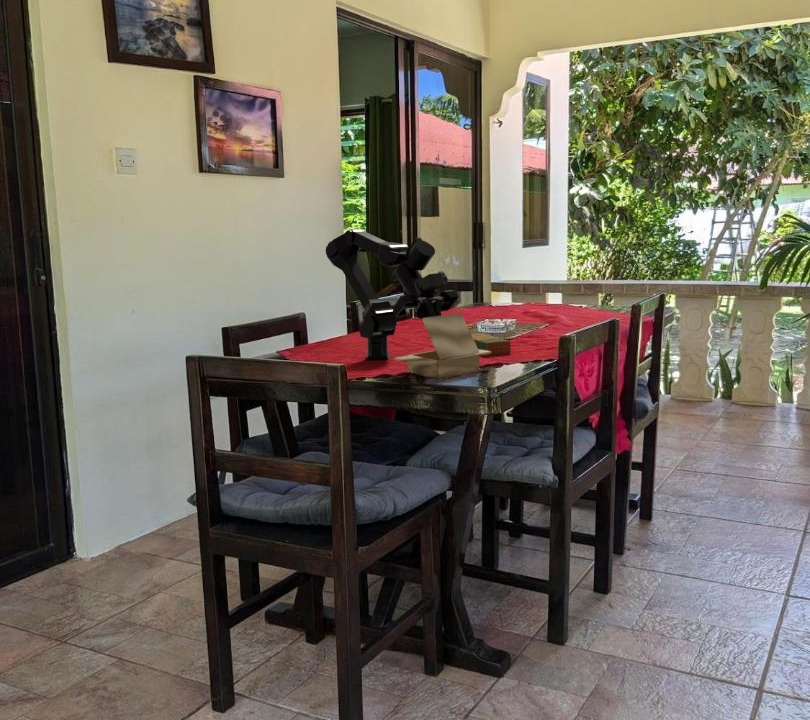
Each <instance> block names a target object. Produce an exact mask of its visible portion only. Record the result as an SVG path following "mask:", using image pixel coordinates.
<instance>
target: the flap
mask: <svg viewBox="0 0 810 720" xmlns="http://www.w3.org/2000/svg"><path fill="white" fill-rule="evenodd" d="M441 315H442V314H441ZM421 322H423V325H424V327H425V329H426V332H427V334H428V336H429V338H430V341H431V343H432V345H433V347H434V349H435V350H436V352H437V354H438V356H439V359H440V360H442V359H448V358H454V357H459V356H465V355H470V354H476V353H479V350H478V348H477V346H476V344H475V342H474V340H473V337H472V335H471V334H472V333H471V331H470V329H469V327H468V324H467V322H466V321H465V319H464V316H463V314H462V313H461V312H459V313H451V314H443V315H442V316H434V317H427V318H422V319H421Z"/></svg>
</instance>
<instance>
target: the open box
mask: <svg viewBox="0 0 810 720" xmlns="http://www.w3.org/2000/svg"><path fill="white" fill-rule="evenodd" d="M478 350H479V353H476V354H470V355H465V356H459V357H454V358H448V359H442V360H440V359H439V356H438V354H437V352H436V350H430V351H429V350H428V351H423V352H418V353H417V352H416V353H411V354H407V355H403V356H397V357H393V361H398V362H402V363H407V366H406V367H407V373H409V372H411V373H410V374H413V373H414V374H413V375H419V376H423V377H428V378H432V379H436V380H441V379H446V378H452V377H457V376H462V375H467V374H472V373H477V372H480V356H485V355H484V354H490V353H491V351H487V350H481V349H478Z"/></svg>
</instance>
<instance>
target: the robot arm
mask: <svg viewBox="0 0 810 720" xmlns="http://www.w3.org/2000/svg"><path fill="white" fill-rule="evenodd" d="M361 249H362V250H364V251H366V252H368V253H370V254H372V255H374V256H375V257H377V260H378V261H379V262H380V264H382V265H383V266H385V267H387V268H391V267H397V268H396V269H395V270H393V271H392V275H391V279H390V281H392V282H397V281H399V283H400V285H401V286H402V287H403V289H404V291H403V292H402V294H403V295H400V296H399V297H398V299H397V300H396V302H395V304H394V305H393V306H392V305H391V302H389V300H384V301H382V300H380V298H379V297H378V296H377V294H376V292H375V290H374V289H373V286H372V285H371V283H370V281H369V279H368V278H367V276H366V274H365V273H364V270H363V269H362V268H361V266H360V264H359V262H358V259H359V251H360V250H361ZM325 254H326V257H327V259H328V260H329V261H330V263H331V265H333V266H334V267H336V268H338V269H339V270H340V271H342V272H343V275H344V276H345V278H346V279H347V281H348V283H349V285H350V287H351V289H352V290H353V292H354V294H355V295H356V297H357V300H358V301H359V302H360V304H361V306H362V309H363V317H362V319H363V321H364V322H363V324H362V325H361V326H360V327H359V329H358V331H359V335H360V338H366V339H367V354H366V355H365V356H364V357H365V358H364V359H365V360H389V358H390V356H391V353H389V349H388V347H389V346H388V339H389V338H388V336H395V332H396V327H397V323H398V318H402V317H405V316H406V314H407V311H406V309H407V310H412V309H413V310H414V311H415V312H414V315H413V317H414V318H418V319H420V320H422V318H427V317H434V316H442V312H447V311H449V310H450V309H451V308H452V307H453V306H454V304H455V303H456V302H457V301H458V299H459V294H458V293H457V292H456V290H454V289H453V290H451V289H449V290H444V291H443V290H442V292H440V294H439V295H438V296H435V295H436V294H438V292H439V291H438V289H439V288H441V287H444V286H445V285H446V284H447V283H448V280H449V279H448V276H447V274H446V273H445V272H444V271H437V272H435V273H434V272H433V273H429V274H427V275H425V276H422V274H421V272H420V271H423V270H425V269H426V267H427V266H428V264H429V263H430V262H431V260H432V259H433V257H434V255H435V254H436V249H435V247H434V246H433V245H432V244H430V243H429V242H428V241H425V240H424V239H422V237H414V239H413V240H412V243H411V244H410V246H408V245H407V244H403V243H399V242H398V243H397V242H388V241H386V240H383V239H381V238H379V237H377V236H376V235H373V234H371V233H368V232H366V231H365V229H362V228H351V229H350V228H349V229H348V230H346V231H345V232H344V233H343V234H341V235H339V236H337V237H335V238H334V239H332V240H330V241H329V242H328V243H327V245H326V247H325Z"/></svg>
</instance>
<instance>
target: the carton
mask: <svg viewBox="0 0 810 720" xmlns="http://www.w3.org/2000/svg"><path fill="white" fill-rule="evenodd" d="M471 335H472V337H473V340H474V342H475V344H476V346H477V348H478V349H481V350H487V351H491V353H490V354H484V355H483V356H485V355H486V356H485V357H490V355H492V356H498V355H499V354H500V355H506V353H509V354H511V351H512V350H511V349H512V348H511V347H512V344H511V343H512V341H510V340H507V339H504V338H500V337H497V336H493V335H490V334H487V333H482V332H481V333H480V332H479V333H471Z"/></svg>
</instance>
